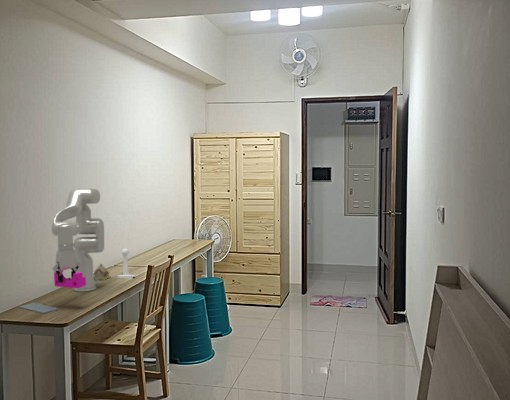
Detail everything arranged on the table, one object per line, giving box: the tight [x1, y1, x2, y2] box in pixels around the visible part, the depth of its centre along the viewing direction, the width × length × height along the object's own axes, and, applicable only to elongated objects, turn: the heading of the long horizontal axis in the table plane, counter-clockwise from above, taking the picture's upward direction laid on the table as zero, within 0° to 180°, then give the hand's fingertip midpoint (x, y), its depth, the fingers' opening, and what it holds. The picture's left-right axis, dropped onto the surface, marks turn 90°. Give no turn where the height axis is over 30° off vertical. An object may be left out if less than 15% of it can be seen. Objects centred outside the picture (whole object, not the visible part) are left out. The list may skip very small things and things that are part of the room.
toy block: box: [53, 271, 86, 289], centre depth 287 cm, size 15×6×8 cm, turn 70°
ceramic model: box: [93, 263, 111, 282], centre depth 358 cm, size 14×11×10 cm
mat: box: [18, 302, 60, 314], centre depth 287 cm, size 9×22×1 cm, turn 55°
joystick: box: [116, 247, 136, 278], centre depth 358 cm, size 11×8×20 cm
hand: (67, 280), depth 288 cm, fingers closed on toy block, 7 cm apart
